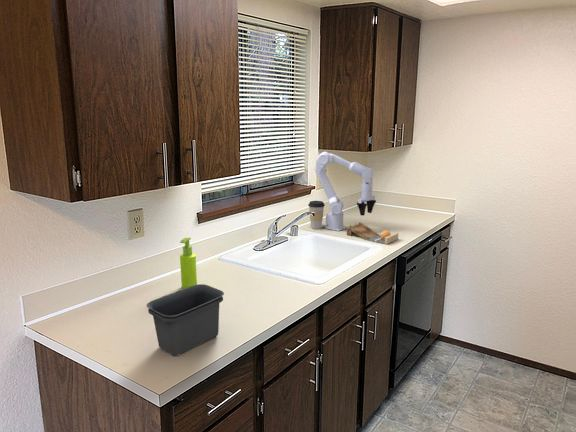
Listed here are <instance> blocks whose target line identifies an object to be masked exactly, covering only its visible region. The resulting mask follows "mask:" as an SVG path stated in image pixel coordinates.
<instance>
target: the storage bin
mask: <svg viewBox="0 0 576 432" xmlns="http://www.w3.org/2000/svg"><path fill="white" fill-rule="evenodd" d="M224 295H225V292H224V291H222V290H221V289H218V288H215V287H213V286H211V285H208V284H203V283H200V284H197V285H194V286H190V287H188V288H185V289H182V288H181V289H180V290H177V291H175V292H171V293H169V294H166V295H164V296H161V297H158V298H155V299H153V300H151V301H149V302H147V304H146V308H148V309H147V310H148V311H147V312H148V314H150V315H151V316H152V317H153V322H154V329H155V334H156V339H157V343H158V346H159V348H160V349H162V350H164V351H165V352H166V353H169V354H170V355H172V356H175V357H176V355H177V356H179V355H181V354H183V353H185V352H187V351H189V350H192V349H193V348H196V347H197V346H200V345H201V344H203V343H206V342H207V341H209V339H210V340H211V339H213V338H215V337H217V336H218V335H219V327H220V325H219V324H220V303H222V302H223V301H224ZM178 354H179V355H178Z"/></svg>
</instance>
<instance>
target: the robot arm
mask: <svg viewBox="0 0 576 432" xmlns="http://www.w3.org/2000/svg"><path fill="white" fill-rule="evenodd" d="M328 164H338V165H340V166H342V167H345V168H347V169H349V172H351V173H353V174H355V175H357V176H360V177H362V182H361V197H360V198H358V199H357V202H356V205H357V207H358V210H359V214H360V216H362V217H363V216H365V214H366V211H367V213H369V214H372V212H373V210H374V206H375V204H376V202H377V200H376V196H375V195H373V185H374V184H373V183H374V182H373V177H374V171H373V168H371V167H367V166H366V165H362V164H360V162H358V161H353V162H350V161H348V160H347V159H345V158H343V157H340V156H338V154H337V155H336V154H333V153H331V152H328V151H322V152H321V153H320V154H318V156H317V158H316V161H315V173H316V176H317V178H318V180H319V182H320V184H321V186H322V189H323V190H324V193H325V195H326V197H327V199H328V202H329V205H330V211H329V212H327V213H326V215H325V227H324V229H327V230H331V231H335V232H336V231H337V232H340V231H343V230H347V228H346V227H345V226H344V212H343V208H344V203H343V202H342V201H341V199H340V198H339V197H338V196H337V193H336V191H335V190H334V187H333V185H332V183H331V181H330V179H329V177H328V175H327V173H326V170H325V169H326V167H327V165H328ZM366 209H367V210H366Z"/></svg>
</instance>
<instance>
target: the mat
mask: <svg viewBox="0 0 576 432" xmlns="http://www.w3.org/2000/svg"><path fill="white" fill-rule="evenodd" d="M363 240H364V241H368V242H372V243H376V244H377V243H378V244H383V245H386V246H387V245H388V244H391V243H394V242H395V241H397V240H399V232H398V233H397V232H395V233H392V234H391V235H390V236H388V237H386V238H385V240H384V239H382V237H381V234H378V235H374V236H372V237H369V239H366V238H365V239H363Z"/></svg>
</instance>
